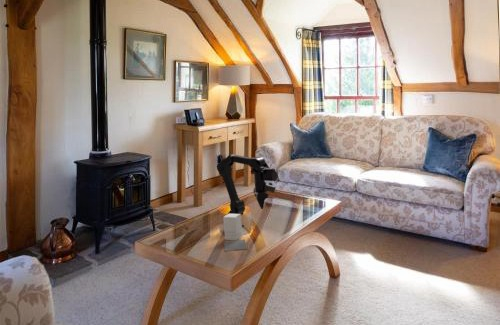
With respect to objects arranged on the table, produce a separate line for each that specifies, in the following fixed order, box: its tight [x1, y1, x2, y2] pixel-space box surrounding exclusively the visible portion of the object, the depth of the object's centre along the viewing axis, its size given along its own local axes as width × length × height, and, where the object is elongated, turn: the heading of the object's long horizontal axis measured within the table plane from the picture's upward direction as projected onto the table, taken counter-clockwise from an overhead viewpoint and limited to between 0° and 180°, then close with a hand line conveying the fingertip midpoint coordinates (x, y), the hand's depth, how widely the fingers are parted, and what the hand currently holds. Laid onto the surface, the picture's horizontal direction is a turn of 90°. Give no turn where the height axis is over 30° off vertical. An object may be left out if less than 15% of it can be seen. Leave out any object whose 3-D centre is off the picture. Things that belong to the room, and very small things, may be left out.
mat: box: [223, 239, 248, 252], centre depth 204 cm, size 14×11×1 cm
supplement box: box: [222, 213, 243, 241], centre depth 215 cm, size 7×7×13 cm
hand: (261, 207), depth 224 cm, fingers open, 5 cm apart
